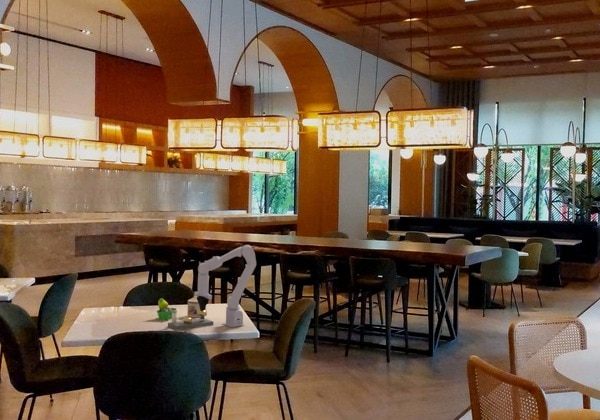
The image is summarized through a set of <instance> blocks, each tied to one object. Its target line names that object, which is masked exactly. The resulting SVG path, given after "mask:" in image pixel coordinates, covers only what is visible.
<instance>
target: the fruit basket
mask: <svg viewBox="0 0 600 420" xmlns="http://www.w3.org/2000/svg"><path fill="white" fill-rule="evenodd" d="M157 302H158V305H157V307H158V310H156V313H157V316H158V320H159V321H170V320H172V310H176V311H177V308H175V307H169V303H168V302H167V301H166V300H165V299H164V298H162V297H161V298H159V299H158V301H157Z"/></svg>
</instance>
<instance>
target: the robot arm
mask: <svg viewBox="0 0 600 420" xmlns="http://www.w3.org/2000/svg"><path fill="white" fill-rule="evenodd" d="M242 256H243V258H244V259H245V261H246V265H245V268H244V270H243V272H242V274H241V275H240V278H239V280H238V282H237V283H236V286H235V287H234V289H233V291H232V293H231V294H230V295H229V296H228V298H227V301H226V302H227V303H226V304H227V306H226V308H225V322H223V323H222V325H224V326H228V327H231V328H236V327H243V326H245V324H244V313H243V311H242V310H240V308H241V307H240V306H239V305H240V299H241V297H242V294H243V292H244V290H245V288H246V286H247V285H248V282H249V280H250V278H251V276H252V274H253V272H254V270H255V269H256V266H257V259H256V253H255V250H254V249H253V247H252V246H251V245H250V244H245V245H243V246H239V247H237V248H235V249H233V250H230V251H229V252H228V253H225V254H224V255H221V256H219V255H218V256H217V255H216V256H215V255H214V256H212V258H210V259H208V260H204V262H202V263H200V264H199V265H198V267H197V271H198V274H197V275H198V277H197V291H194V295H193V296H197V300H198V303H199V306H200V311H205V308H206V309H207V304H208V302H209V300H212V299H213V295H212V294H210V293H209V286H210V285H209V282H210V281H209V280H210V279H209V278H210V277H209V271H213V270H216V269H218V268H219V267H222V265H223V263H224V262H226V261H229V260H231V259H233V258H235V257H239V258H241V257H242Z"/></svg>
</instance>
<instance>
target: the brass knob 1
mask: <svg viewBox="0 0 600 420" xmlns="http://www.w3.org/2000/svg"><path fill="white" fill-rule="evenodd" d="M192 320H193V317H188V316H186V317H183V321H184V323H186V324H189V323H192Z"/></svg>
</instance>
